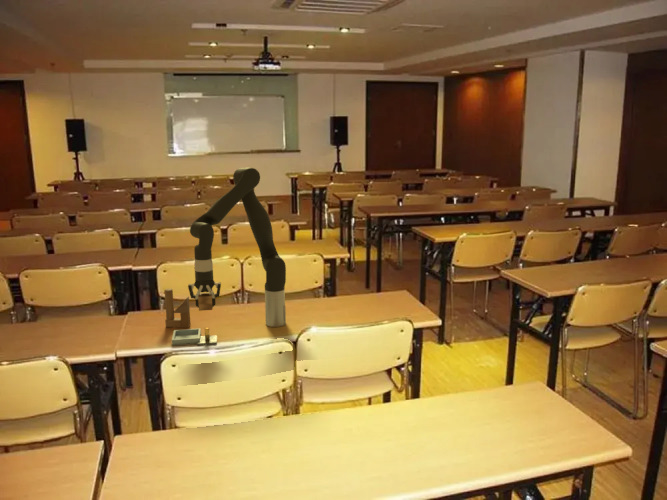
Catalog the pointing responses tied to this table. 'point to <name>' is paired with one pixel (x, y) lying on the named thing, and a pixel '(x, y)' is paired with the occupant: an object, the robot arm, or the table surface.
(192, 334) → the tray
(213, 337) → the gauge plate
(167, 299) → the brown upright angular piece
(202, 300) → the bored block
